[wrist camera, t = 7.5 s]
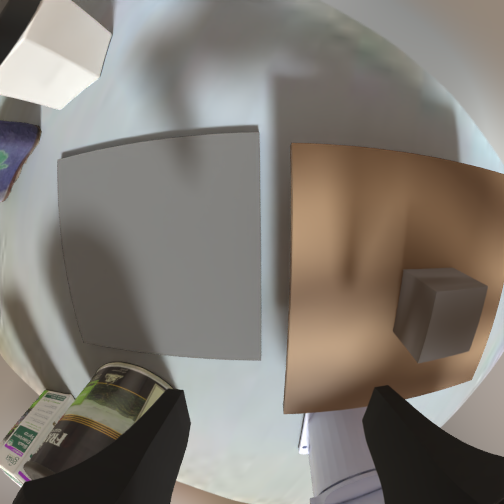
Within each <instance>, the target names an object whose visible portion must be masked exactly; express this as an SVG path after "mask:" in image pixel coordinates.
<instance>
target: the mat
mask: <svg viewBox="0 0 504 504" xmlns="http://www.w3.org/2000/svg"><path fill="white" fill-rule="evenodd" d="M57 182H58V207H59V220H60V231H61V239H62V247H63V254H64V261H65V267H66V273H67V278H68V283H69V288H70V293H71V298H72V302H73V306H74V310H75V314H76V318H77V322H78V326H79V329H80V333H81V336H82V339H83V342H84V343H89V344H94V345H99V346H105V347H110V348H116V349H122V350H129V351H136V352H143V353H151V354H160V355H169V356H179V357H191V358H205V359H223V360H261V216H260V144H259V132H243V133H221V134H206V135H194V136H184V137H174V138H166V139H158V140H151V141H144V142H138V143H132V144H126V145H120V146H115V147H110V148H105V149H100V150H95V151H91V152H86V153H82V154H78V155H74V156H70V157H66V158H62V159H58V161H57Z"/></svg>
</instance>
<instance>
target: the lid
mask: <svg viewBox="0 0 504 504" xmlns="http://www.w3.org/2000/svg"><path fill="white" fill-rule="evenodd" d="M290 159H291V253H290V292H289V319H288V340H287V358H286V374H285V388H284V401H283V411H284V414H299V413H315V412H327V411H337V410H346V409H353V408H360V407H367V406H368V404H369V401H370V398H371V395H372V393H373V390H374V387H379V386H385V385H389V386H390V387H391V388H392V389H393V390H395V391H396V392H397V393H398V394H399V395H400V396H401V397H403V398H404V399H408V398H412V397H417V396H421V395H424V394H428V393H432V392H435V391H439V390H442V389H446V388H449V387H452V386H455V385H458V384H461V383H464V382H467V381H470V380H472V378H473V376H474V373H475V371H476V369H477V366H478V364H479V362H480V359H481V357H482V354H483V351H484V349H485V346H486V343H487V340H488V338H489V335H490V332H491V329H492V325H493V322H494V319H495V316H496V312H497V308H498V305H499V301H500V297H501V293H502V288H503V284H504V174H501V173H498V172H495V171H491V170H487V169H484V168H480V167H476V166H472V165H468V164H464V163H459V162H455V161H450V160H446V159H441V158H436V157H430V156H425V155H419V154H413V153H406V152H400V151H393V150H385V149H377V148H368V147H357V146H346V145H332V144H314V143H291V145H290Z"/></svg>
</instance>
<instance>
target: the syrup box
mask: <svg viewBox="0 0 504 504" xmlns="http://www.w3.org/2000/svg"><path fill="white" fill-rule="evenodd" d="M74 401H75V399H74V398H73V396H72V395H71V394H63V393H58V392H53V391H48V390H45V391H44V392H43V393H42V394H41V395H40V396H39V398H38V399H37V400H36V401H35V402H34V403H33V404H32V406H31V407H30V408H29V409H28V410H27V411H26V412H25V414H24V415H23V416H22V417H21V418H20V420H19V421H18V422H17V423H16V424H15V425H14V427H13V428H12V429H11V430H10V432H9V433H8V434H7V435H6V437H5V438H4V439H3V440H2V442H1V443H0V469H1V470H2V471H3V472H4V473H5V474H6V475H8V477H10V478H11V479H12V480H13V481H14V482H15V483H17V484H18V485H19V486H20V487H22V486H23V484H24V482H26V481H31V479H30V478H29V476H28V475H27V474H26V472H25V471H24V469H23V466H24V464H25V463H26V462H27V461H29V460H30V459H31V457H32V456H33V454H35V452H36V451H37V449H38V448H39V446H40V445H41V444H42V443H43V441H44V440H45V439H46V437H47V436H48V435H49V433H50V432H51V431H52V429H53V428H54V426H55V425H56V424H57V423H58V421H59V420H60V418H61V417H62V416H63V415H64V414H65V412H66V411H67V410H68V408H69V407H70V406H71V405H72V403H73V402H74Z"/></svg>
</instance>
